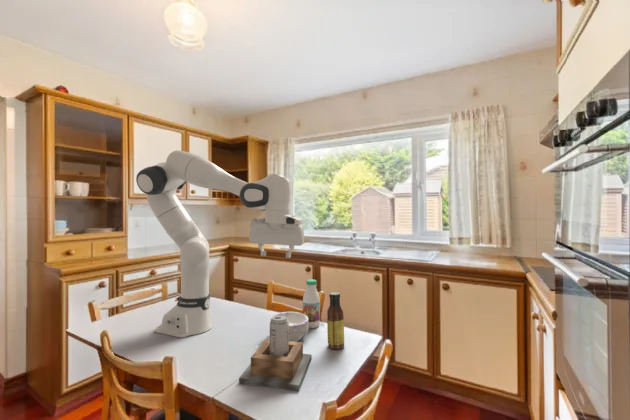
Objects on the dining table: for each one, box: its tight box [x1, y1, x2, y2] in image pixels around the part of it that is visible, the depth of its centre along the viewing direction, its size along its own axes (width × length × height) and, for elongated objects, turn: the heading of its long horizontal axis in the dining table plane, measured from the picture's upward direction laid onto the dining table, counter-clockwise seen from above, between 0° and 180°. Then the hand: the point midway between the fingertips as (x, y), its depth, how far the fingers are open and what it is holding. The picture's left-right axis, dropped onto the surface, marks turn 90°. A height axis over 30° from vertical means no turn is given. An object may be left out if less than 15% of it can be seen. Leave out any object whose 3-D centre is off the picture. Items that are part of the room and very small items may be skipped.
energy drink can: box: [269, 314, 289, 357], centre depth 91 cm, size 6×6×15 cm
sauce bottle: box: [326, 291, 345, 350], centre depth 108 cm, size 6×6×20 cm
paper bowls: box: [269, 311, 309, 342], centre depth 115 cm, size 15×15×8 cm
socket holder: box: [238, 338, 313, 392], centre depth 91 cm, size 18×18×6 cm
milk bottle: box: [301, 278, 321, 329], centre depth 128 cm, size 8×8×20 cm
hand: (275, 256), depth 105 cm, fingers open, 8 cm apart
